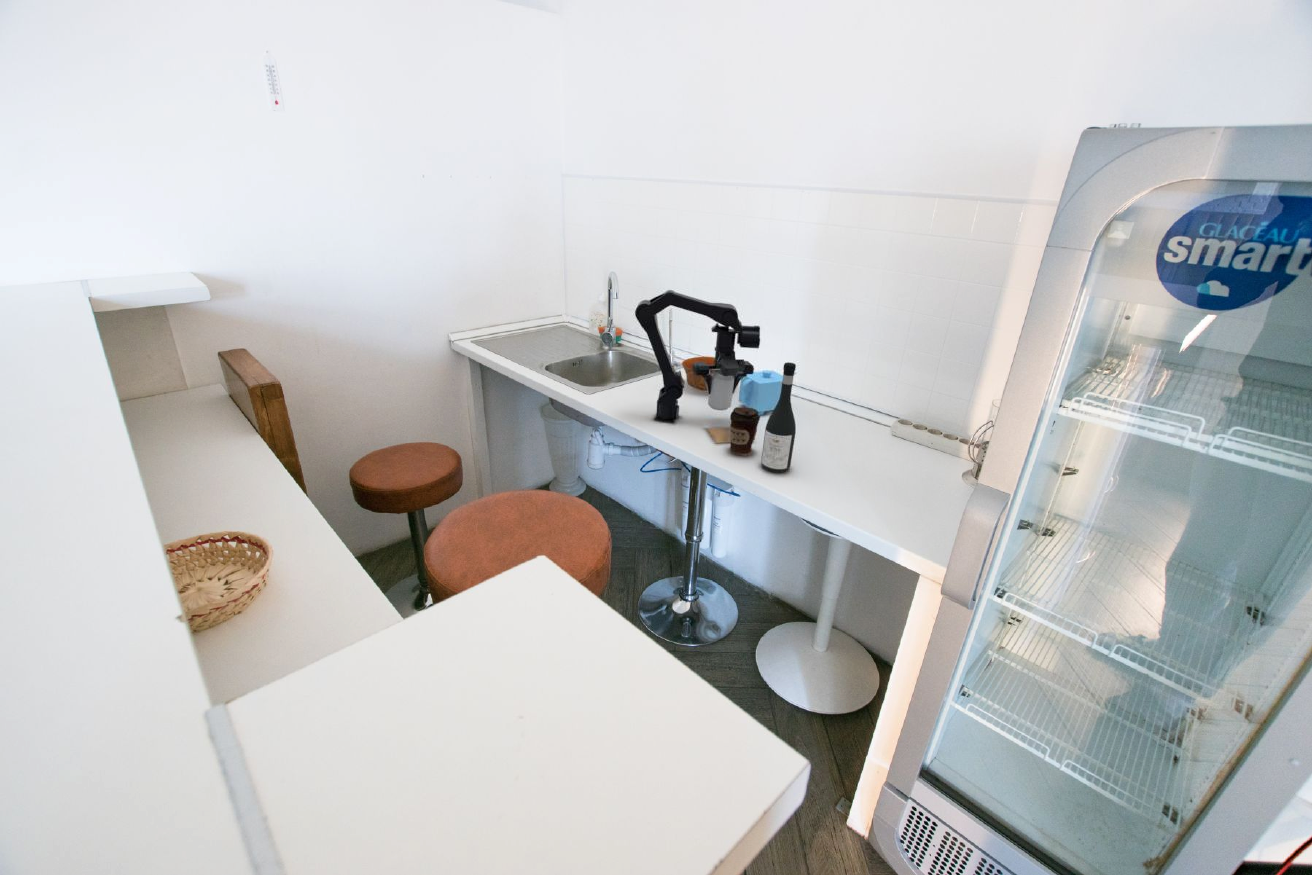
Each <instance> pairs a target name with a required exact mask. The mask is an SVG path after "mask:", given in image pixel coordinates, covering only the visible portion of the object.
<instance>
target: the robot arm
mask: <svg viewBox="0 0 1312 875" xmlns="http://www.w3.org/2000/svg"><path fill="white" fill-rule="evenodd" d="M670 306H671V307H675V308H678V309H681V310H685V311H687V312H692V313H695V314H698V315H702V316H705V317H707V318H709V319H711V320H712V321H714V322H716V323H715V325H713V326H712V327H711V328H710V330H711V333H716V339H715V340H716V342H715V346H714V352H715V353H714V357H715V360H714V362H713V363H714V365H708V364H707V363H706V362H694V364H693V366H692V370H693V371H694V373H695V374H696V375H701V376H702V377H703V378H704V381H705V384H706V388H707V391H706V392H707V394H708V395H709V394H710V392H711V378H712V376H711V375H710V371H721V372H722V375H723V376H734V386H733V393H732V395H734V393H735V392H736V389H737V387H738V385H739V384H740V382H741V379H742V378H743V377H746V376H747V374H753V373H754V372H755V367H754V365H753V364H752V363H750V362H749V361H748V360H745V359H738V358H737V359H736V351H735V346H736V344H737V345H738V346H739V347H740V348H743V349H744V348H745V349H759V348H760V344H761V338H760V337H761V326H760V325H743V324H742V321H741V320H740V319H739V313H738V310H737V308H736V306H735V305H733V304H731V303H726V302H725V303H723V302H709V301H706V300H703V299H700V298H696V297H692V296H689V295H686V294H684V293H683V294H682V293H679V292H676V291H675V290H672V289H667V290H666V291H664V292H663V293H661V294H659V295H657V296H654V297H653V298H651V299H643V300H641V301H640V302H638V305H637V306H636V308H635V311H634V316H635V318H636V320H637V322H638V323H639V325H640V326H641V328H642V329H643V330H644V332H645V333H646V335H647V338H648V340H649V343H650V346H651V348H652V351H653V354H654V357H655V359H656V361H657V362H656V363H657V364H658V367H659V369H660V372H661V375H662V382H663V384H662V385H663V387H662V388H660V389H659V392H658V397H657V400H656V416H655V417H654V420H655V421H660V422H667V423H671V424H672V423H674V422H675V421H676V420H677V419H678V418H679V416H680V404H679V399H681V398H682V397H683V395H684V388H685V381H686V380H684V378H683V375H682V371H681V370H678V371H676V369H675V368H674V366H673V363H672V361H671V358H670V355H669V352H668V349H667V347H666V344H665V342H664V339H663V336H662V334H661V330H660V328H659V322H658V315H657V314H660V312H662V311H664V310H665V309H666V308H668V307H670Z"/></svg>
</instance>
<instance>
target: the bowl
mask: <svg viewBox="0 0 1312 875" xmlns="http://www.w3.org/2000/svg"><path fill="white" fill-rule="evenodd" d="M714 360H715V356H695V357H690V358H687V359H684V360H683V361H682V362H681V366H682V368H683V370H684V373H685V376H686V377H685V378H686V383H687V385H688V386H689V387H690V388H693V389H696V390H699V391H703V392H708V391H707V388H706V384H705V381H704V378H703V377H702V376H701V375H696V374H695V373H694V371H693V370H692V366H693V364H694V362H706V363H707V364H708V365H714V363H713V362H714ZM713 373H714V371H710V375H712V374H713Z"/></svg>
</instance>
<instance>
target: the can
mask: <svg viewBox="0 0 1312 875" xmlns="http://www.w3.org/2000/svg"><path fill="white" fill-rule="evenodd" d="M711 376H712V378H711V392H710V394H708V400H707V405H708V406H709V407H710V408H711V409H712V410H715V411H727V410H728V409H730V408H731V407H732V401H733V394H734V393H733V386H734V376H723V375H722V372H721V371H714V373H713V374H712V375H711ZM732 393H733V394H732Z"/></svg>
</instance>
